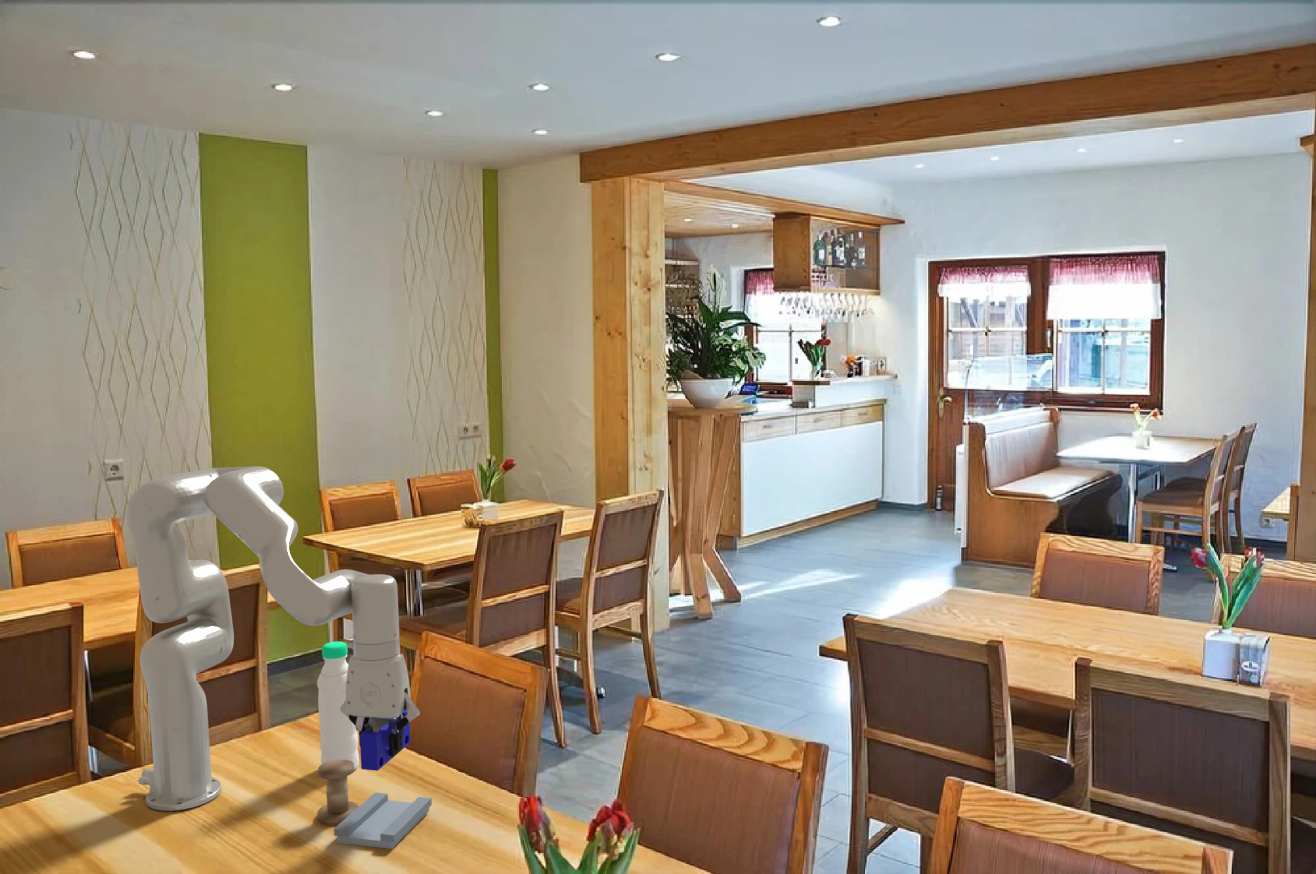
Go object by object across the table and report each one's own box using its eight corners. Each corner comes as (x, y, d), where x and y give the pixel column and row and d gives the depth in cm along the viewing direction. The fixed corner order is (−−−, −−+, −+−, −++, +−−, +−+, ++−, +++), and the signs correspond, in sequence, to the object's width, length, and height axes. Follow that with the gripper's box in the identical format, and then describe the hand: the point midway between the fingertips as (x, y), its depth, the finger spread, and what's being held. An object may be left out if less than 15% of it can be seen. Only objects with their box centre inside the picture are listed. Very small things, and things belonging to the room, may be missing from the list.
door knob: (309, 822, 184) (307, 773, 183) (331, 805, 191) (328, 756, 190) (346, 826, 183) (343, 776, 182) (366, 808, 190) (364, 760, 189)
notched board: (334, 842, 177) (333, 829, 177) (375, 805, 191) (374, 792, 191) (394, 849, 175) (394, 835, 174) (432, 811, 188) (431, 798, 188)
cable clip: (387, 740, 188) (385, 707, 187) (410, 742, 187) (409, 709, 186) (353, 768, 177) (351, 733, 176) (377, 770, 176) (376, 736, 175)
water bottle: (353, 776, 203) (347, 649, 200) (316, 776, 203) (309, 649, 201) (363, 761, 210) (358, 638, 207) (328, 761, 210) (322, 638, 208)
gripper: (320, 652, 178) (325, 757, 180) (412, 658, 174) (417, 765, 176) (343, 639, 185) (347, 740, 187) (432, 645, 181) (436, 748, 183)
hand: (381, 751), depth 181 cm, fingers closed on cable clip, 4 cm apart
